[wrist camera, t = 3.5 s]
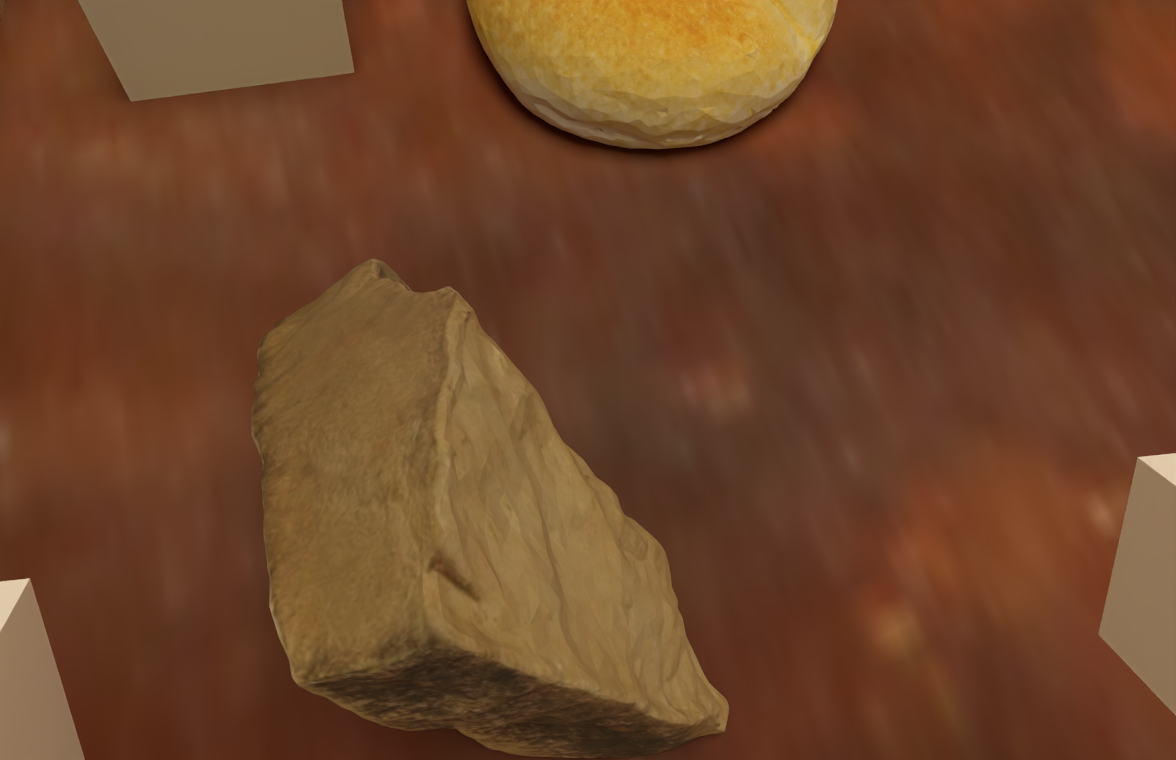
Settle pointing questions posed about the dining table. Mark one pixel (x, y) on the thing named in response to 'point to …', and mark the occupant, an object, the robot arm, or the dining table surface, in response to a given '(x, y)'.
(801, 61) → the bread roll
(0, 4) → the beech block
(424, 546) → the rock
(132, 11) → the pale cream cube
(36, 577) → the dining table surface
